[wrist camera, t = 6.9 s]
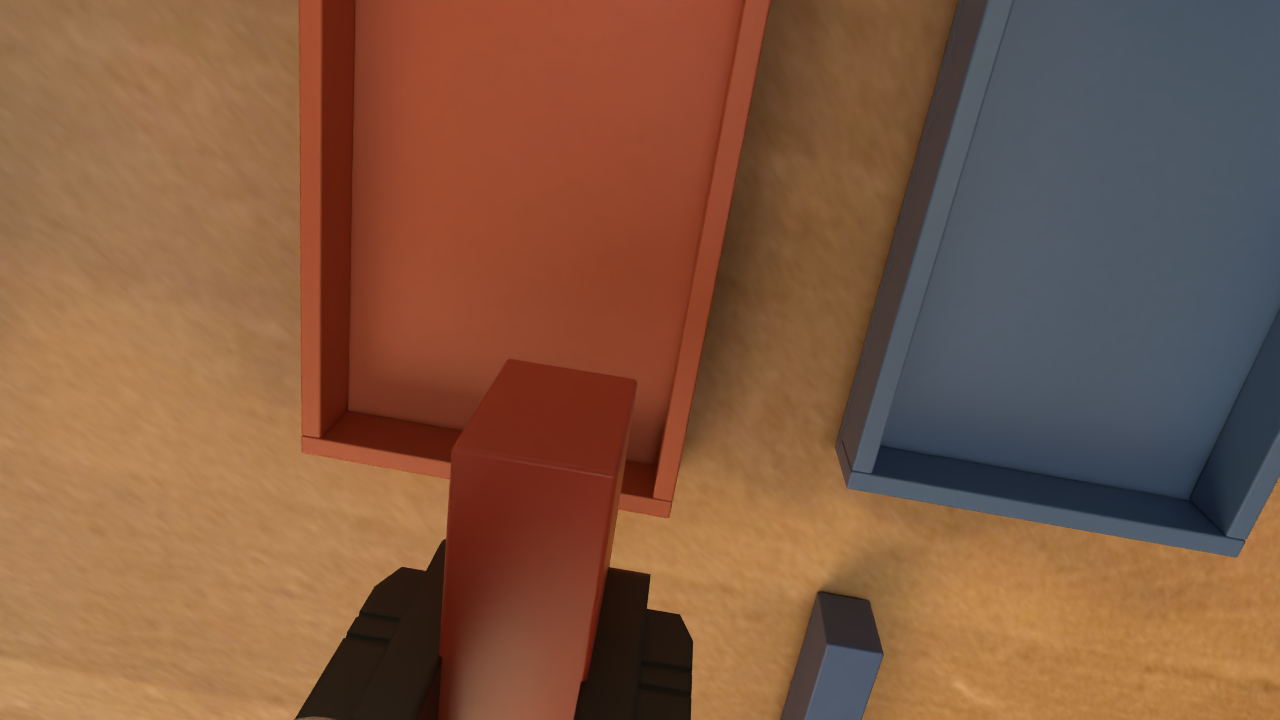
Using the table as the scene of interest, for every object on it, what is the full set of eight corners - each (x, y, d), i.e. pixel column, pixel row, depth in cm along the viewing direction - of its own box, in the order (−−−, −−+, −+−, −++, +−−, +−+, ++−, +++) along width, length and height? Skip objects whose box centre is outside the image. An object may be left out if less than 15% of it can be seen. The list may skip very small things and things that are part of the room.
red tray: (342, -106, 21) (297, -124, 19) (772, -36, 21) (779, -45, 19) (336, 417, 27) (300, 453, 25) (673, 476, 27) (668, 519, 24)
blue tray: (985, -96, 20) (1020, -113, 18) (1447, -22, 20) (1544, -28, 17) (834, 447, 26) (846, 488, 23) (1190, 511, 26) (1237, 558, 23)
